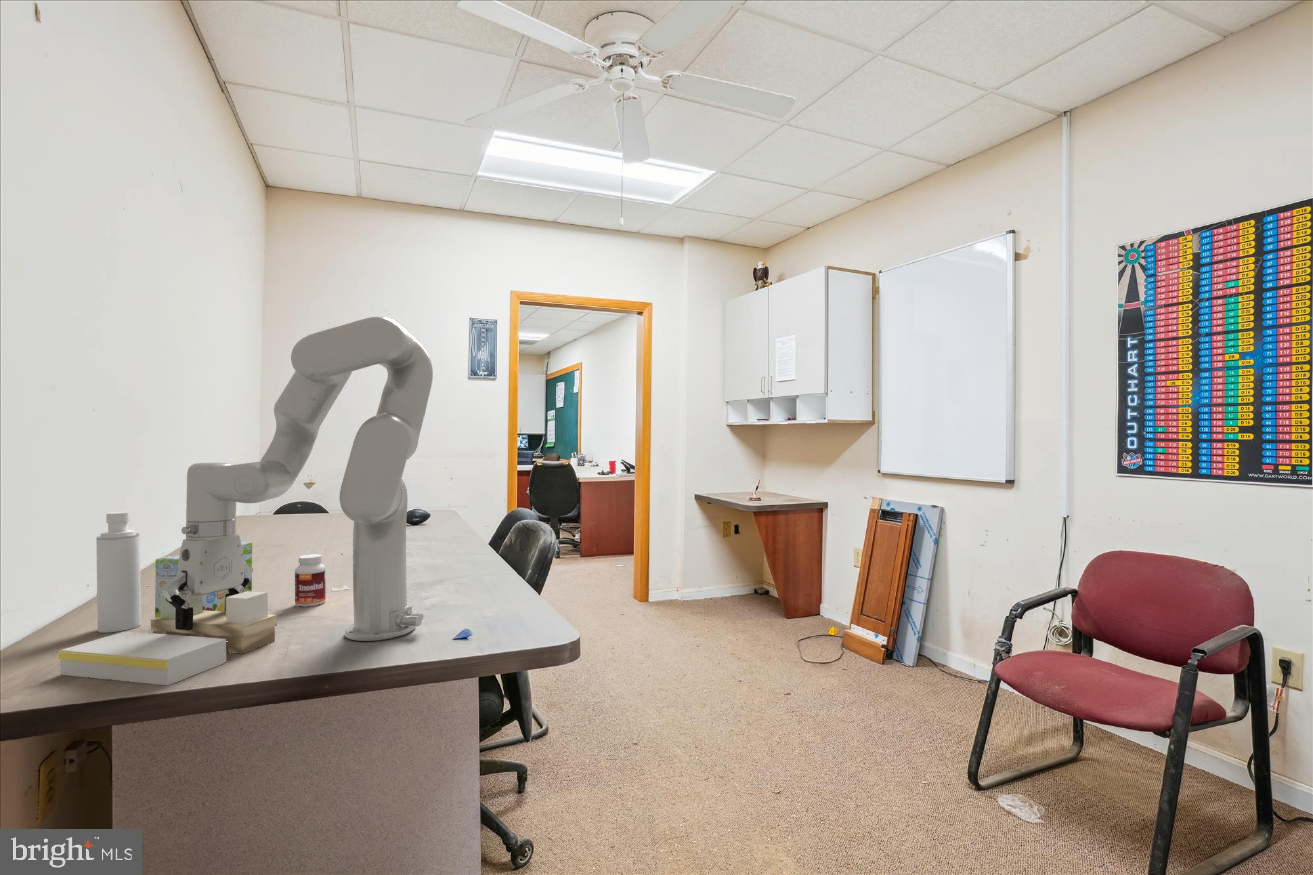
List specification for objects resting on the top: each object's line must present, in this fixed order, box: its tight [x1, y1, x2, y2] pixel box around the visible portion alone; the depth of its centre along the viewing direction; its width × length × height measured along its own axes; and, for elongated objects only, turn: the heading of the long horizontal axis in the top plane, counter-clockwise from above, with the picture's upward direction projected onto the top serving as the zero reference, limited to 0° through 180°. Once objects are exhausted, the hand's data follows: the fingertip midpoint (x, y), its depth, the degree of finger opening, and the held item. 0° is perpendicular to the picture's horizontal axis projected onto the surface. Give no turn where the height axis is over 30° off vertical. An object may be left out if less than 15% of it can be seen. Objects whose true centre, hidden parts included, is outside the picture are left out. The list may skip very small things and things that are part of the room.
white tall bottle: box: [95, 511, 142, 634], centre depth 128 cm, size 7×7×25 cm
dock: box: [57, 630, 227, 686], centre depth 104 cm, size 22×10×4 cm, turn 76°
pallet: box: [150, 610, 278, 655], centre depth 116 cm, size 21×7×5 cm, turn 76°
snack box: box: [154, 541, 253, 619], centre depth 132 cm, size 21×6×15 cm, turn 179°
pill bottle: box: [294, 553, 327, 608], centre depth 144 cm, size 6×6×11 cm
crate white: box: [226, 591, 269, 624], centre depth 115 cm, size 4×4×4 cm
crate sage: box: [160, 589, 203, 619], centre depth 118 cm, size 4×4×4 cm
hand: (209, 621), depth 116 cm, fingers open, 9 cm apart
